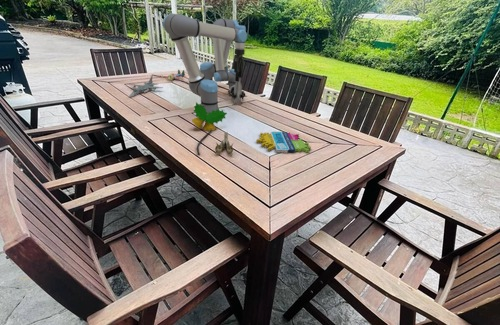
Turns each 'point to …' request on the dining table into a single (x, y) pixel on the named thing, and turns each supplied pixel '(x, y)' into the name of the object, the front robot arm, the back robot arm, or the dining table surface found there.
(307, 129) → the dining table surface
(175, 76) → the toy
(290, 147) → the packaged fuzzy gloves
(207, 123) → the ornament
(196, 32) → the front robot arm
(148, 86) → the airplane
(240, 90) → the bottle
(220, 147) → the jawbone
